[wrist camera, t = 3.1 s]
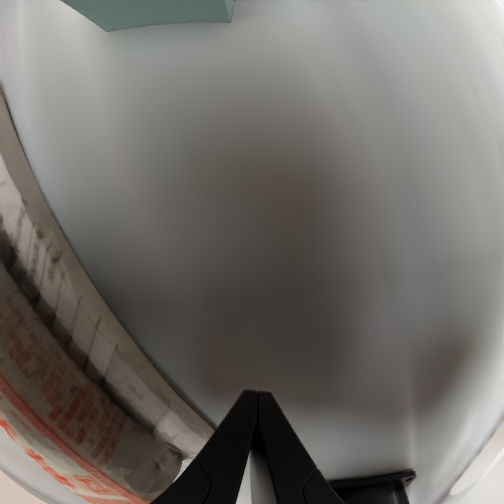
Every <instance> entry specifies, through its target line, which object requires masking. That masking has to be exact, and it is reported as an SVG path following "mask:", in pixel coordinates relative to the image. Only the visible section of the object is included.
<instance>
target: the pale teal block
mask: <svg viewBox="0 0 504 504" xmlns="http://www.w3.org/2000/svg"><path fill="white" fill-rule="evenodd" d="M61 1H62V2H64V3H65V4H67V5H68V6H70V7H72V8H73V9H75V10H76V11H78V12H79V13H81V14H82V15H84V16H85V17H87V18H88V19H89V20H91V21H92V22H94V23H95V24H97V25H98V26H100V27H101V28H102V29H104V30H105V31H107V32H109V31H115V30H120V29H127V28H133V27H141V26H149V25H159V24H171V23H190V22H228V23H230V22H231V17H232V12H233V8H234V3H235V0H61Z"/></svg>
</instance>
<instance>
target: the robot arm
mask: <svg viewBox="0 0 504 504" xmlns="http://www.w3.org/2000/svg"><path fill="white" fill-rule="evenodd" d="M249 452H250V478H251V498H252V504H410V503H409V500H408V497H407V494H406V491H405V488H406V487H407V486H408V485H409V484H410V483H411V482H412V481H413V480H414V479H415V478H416V477H417V476H416V473H415V471H409V472H405V473H400V474H395V475H389V476H383V477H377V478H370V479H362V480H354V481H344V482H330V483H328V482H327V481H326V479H325V478H324V477H323V475H322V474H321V472H320V471H319V469H317V466H316V465H315V463H314V462H313V460H312V458H311V457H310V455H309V454H308V452H307V451H306V449H305V447H304V446H303V444H302V443H301V441H300V439H299V438H298V436H297V435H296V433H295V431H294V430H293V428H292V427H291V425H290V423H289V422H288V420H287V418H286V417H285V415H284V413H283V412H282V410H281V408H280V407H279V405H278V403H277V402H276V400H275V398H274V397H273V395H272V393H271V392H266V391H258V392H257V391H256V390H248V389H245V390H244V391H243V392H242V393H241V395H240V396H239V398H238V399H237V401H236V402H235V404H234V405H233V406H232V408H231V409H230V411H229V412H228V414H227V415H226V416H225V418H224V419H223V421H222V422H221V423H220V425H219V426H218V428H217V429H216V430H215V432H214V433H213V434H212V436H211V437H210V438H209V440H208V441H207V443H206V444H205V445H204V447H203V448H202V449H201V450H200V452H199V453H198V454H197V456H196V457H195V459H193V461H192V462H191V463H190V465H189V466H188V467H187V468H186V469H185V471H184V472H183V473H182V474H181V475H180V476H179V478H178V479H177V480H175V481H174V482H173V483H172V484H171V485H170V486H169V487H168V488H167V489H166V490H165V491H164V492H163V493H161V494H160V495H159V496H158V497H157V498H155V499H154V500H153V501H152V502H151V503H149V504H236V501H237V497H238V493H239V490H240V486H241V482H242V479H243V475H244V471H245V467H246V463H247V459H248V456H249Z"/></svg>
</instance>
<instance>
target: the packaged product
mask: <svg viewBox="0 0 504 504" xmlns="http://www.w3.org/2000/svg"><path fill="white" fill-rule="evenodd" d="M0 427H1V428H2V429H3V430H4V431H5V433H6V434H7V435H8V436H9V437H10V438H11V439H12V440H13V441H14V442H15V443H16V444H17V445H18V446H20V447H21V448H22V449H23V450H24V452H25V453H26V454H27V455H29V456H30V457H31V458H32V459H33V460H34V461H35V462H36V463H37V464H39V465H40V466H41V468H42V469H44V470H45V471H46V472H47V473H49V474H50V475H51V476H53V477H54V478H55V479H56V480H58V481H59V482H60V483H62V484H63V485H64V486H65V487H67V488H68V489H69V490H71V491H72V492H74V493H75V494H77V495H79V496H80V497H82V498H84V499H85V500H86V501H88V502H91V503H93V504H97V503H99V504H149V503H151V502H152V501H153V500H154V499H155V498H157V497H158V496H159V495H160V494H161V493H163V492H164V491H165V490H166V489H167V488H168V487H169V486H170V485H171V484H172V483H173V481H174V480H175V478H176V477H177V475H178V474H179V472H180V469H181V466H182V461H183V460H185V459H191V458H195V457H196V456H197V454H198V453H199V452H200V450H201V449H202V448H203V447H204V445H205V444H206V443H207V441H208V440H209V438H210V437H211V436H212V434H213V433H214V432H215V430H214V429H213V428H211V427H210V426H209V425H208V424H207V423H206V422H205V421H204V420H203V419H202V418H201V417H200V416H199V415H198V414H197V413H195V412H194V411H193V410H192V409H191V408H190V407H189V406H188V405H187V404H186V403H185V402H184V401H183V400H182V399H181V398H180V397H179V396H178V395H177V394H176V393H175V392H174V391H173V390H172V388H171V387H170V386H169V385H168V384H167V383H166V381H165V380H164V379H163V378H162V377H161V375H160V374H159V373H158V372H157V370H156V369H155V368H154V367H153V366H152V364H151V363H150V362H149V360H148V359H147V358H146V357H145V355H144V354H143V353H142V351H141V350H140V349H139V348H138V346H137V345H136V344H135V342H134V341H133V339H132V338H131V337H130V335H129V334H128V333H127V331H126V330H125V329H124V327H123V326H122V325H121V324H120V323H119V321H118V320H117V319H116V317H115V316H114V314H113V313H112V312H111V310H110V309H109V307H108V306H107V304H106V303H105V302H104V300H103V299H102V297H101V296H100V294H99V293H98V291H97V290H96V288H95V287H94V285H93V283H92V282H91V280H90V279H89V277H88V276H87V274H86V272H85V271H84V269H83V267H82V266H81V264H80V262H79V261H78V259H77V257H76V255H75V254H74V252H73V250H72V248H71V247H70V245H69V243H68V241H67V240H66V238H65V236H64V234H63V232H62V231H61V229H60V227H59V225H58V223H57V221H56V219H55V217H54V216H53V214H52V212H51V210H50V208H49V206H48V204H47V202H46V200H45V198H44V196H43V194H42V192H41V190H40V187H39V185H38V183H37V181H36V178H35V176H34V174H33V172H32V170H31V167H30V165H29V163H28V161H27V158H26V156H25V154H24V151H23V149H22V147H21V144H20V142H19V139H18V137H17V134H16V131H15V129H14V126H13V123H12V121H11V118H10V115H9V112H8V109H7V106H6V103H5V100H4V96H3V94H2V92H1V89H0Z"/></svg>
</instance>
